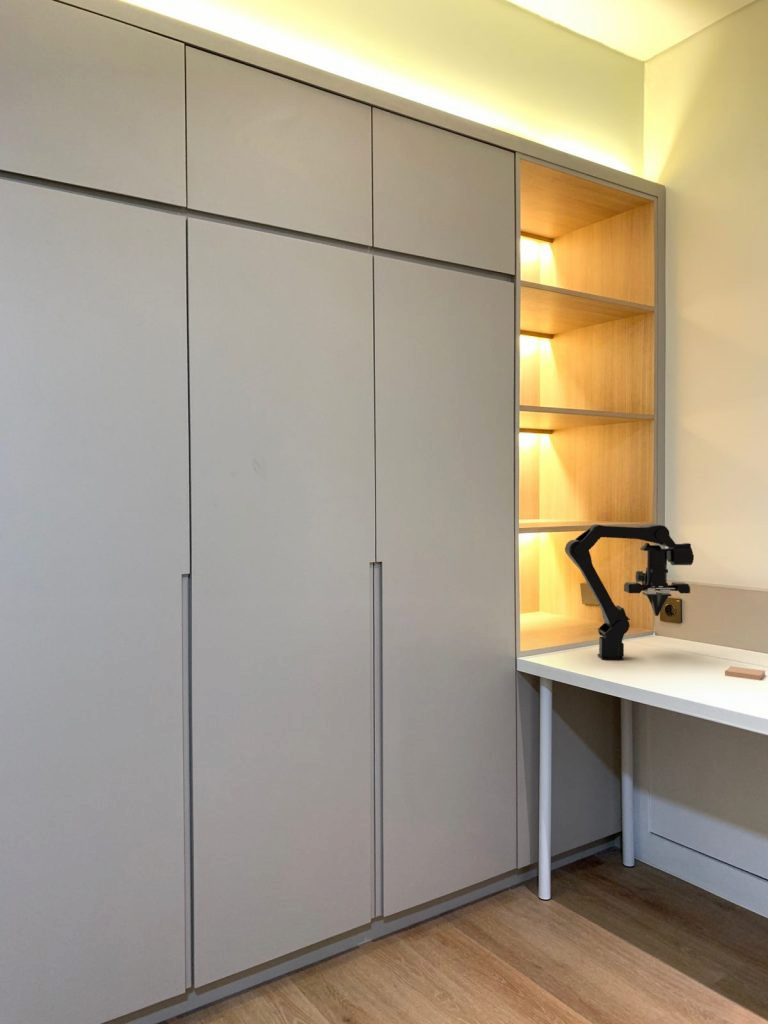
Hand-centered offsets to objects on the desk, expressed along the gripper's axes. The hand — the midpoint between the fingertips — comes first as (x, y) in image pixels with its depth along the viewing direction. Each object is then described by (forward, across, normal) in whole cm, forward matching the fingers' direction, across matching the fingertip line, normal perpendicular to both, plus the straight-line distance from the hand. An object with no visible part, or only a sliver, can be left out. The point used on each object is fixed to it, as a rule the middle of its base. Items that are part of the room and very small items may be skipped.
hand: (656, 615), depth 239 cm
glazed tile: (+12, -14, +19) cm, 27 cm away
